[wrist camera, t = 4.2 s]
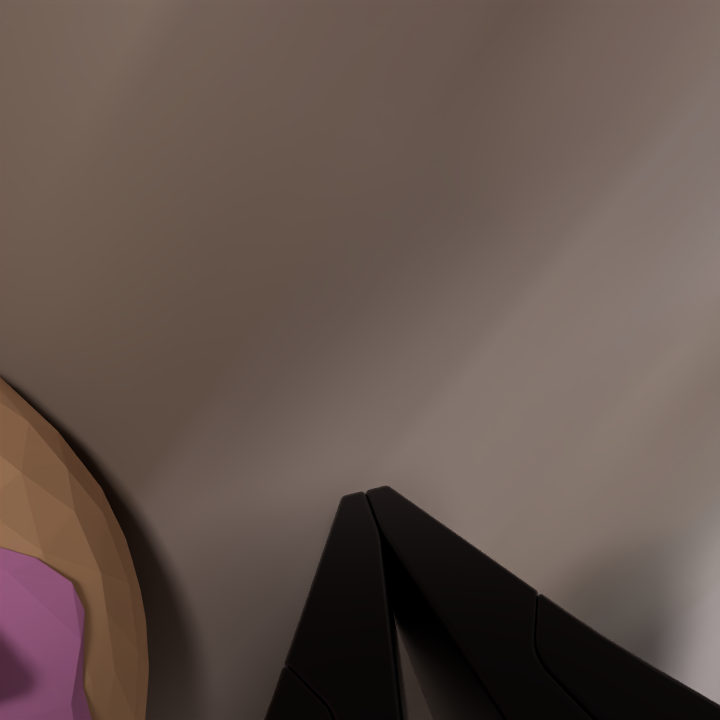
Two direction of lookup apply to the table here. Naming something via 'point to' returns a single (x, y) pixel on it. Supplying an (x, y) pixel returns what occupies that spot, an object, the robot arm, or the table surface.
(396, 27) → the table surface
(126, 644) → the donut
